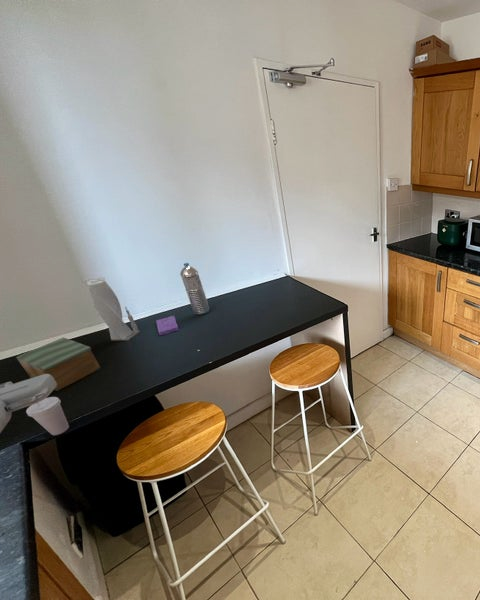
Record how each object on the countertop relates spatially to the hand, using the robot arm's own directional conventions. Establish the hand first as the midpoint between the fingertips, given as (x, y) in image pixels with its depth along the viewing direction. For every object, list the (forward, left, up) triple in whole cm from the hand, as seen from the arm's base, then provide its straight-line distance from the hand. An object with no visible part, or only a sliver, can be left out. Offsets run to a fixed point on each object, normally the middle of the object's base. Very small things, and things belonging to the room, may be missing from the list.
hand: (4, 386), depth 74 cm
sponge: (+7, +62, -22) cm, 66 cm away
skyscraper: (-8, +58, -22) cm, 62 cm away
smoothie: (-2, +7, -22) cm, 23 cm away
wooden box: (-16, +36, -22) cm, 45 cm away
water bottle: (+18, +73, -22) cm, 78 cm away
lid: (-15, +35, -13) cm, 41 cm away
